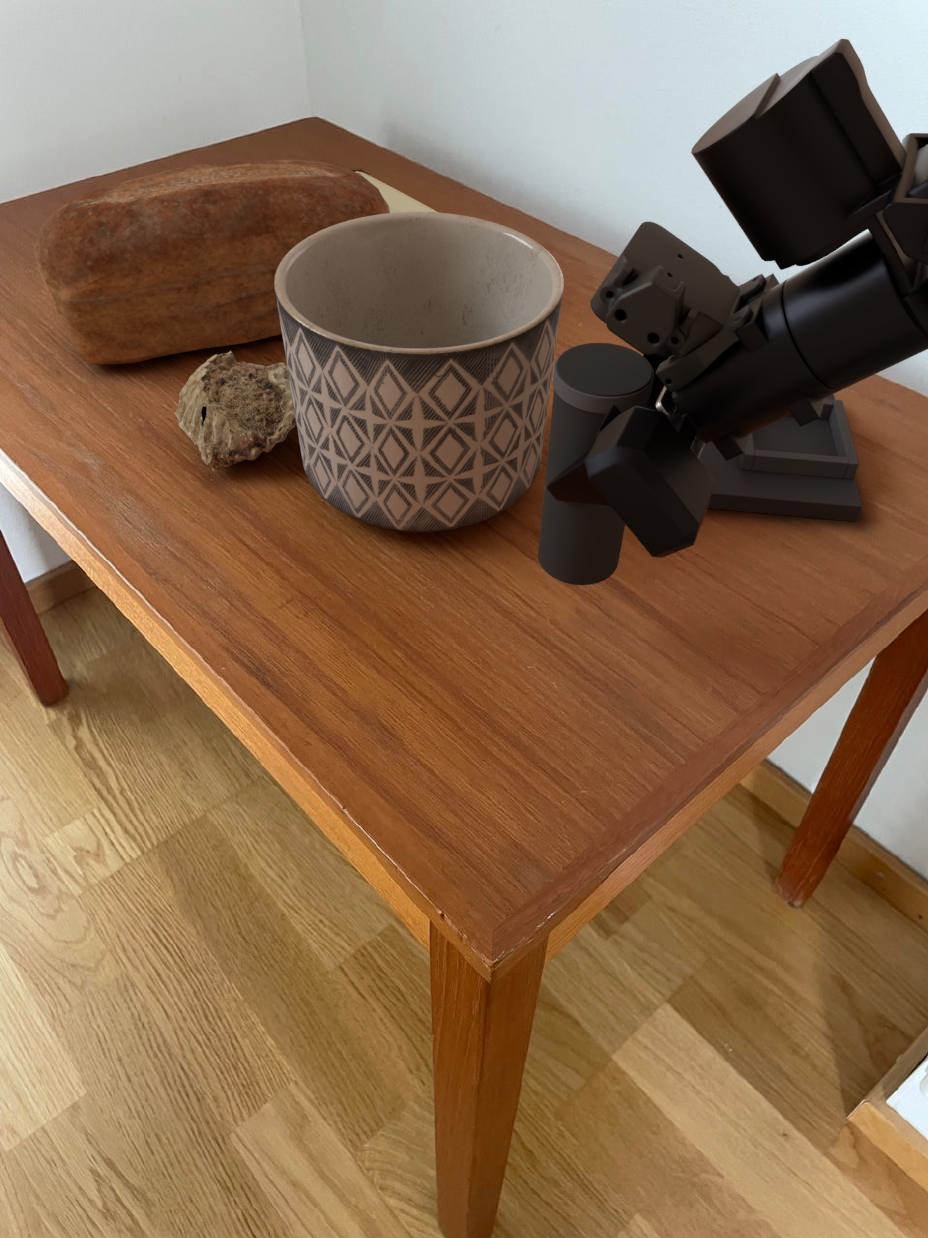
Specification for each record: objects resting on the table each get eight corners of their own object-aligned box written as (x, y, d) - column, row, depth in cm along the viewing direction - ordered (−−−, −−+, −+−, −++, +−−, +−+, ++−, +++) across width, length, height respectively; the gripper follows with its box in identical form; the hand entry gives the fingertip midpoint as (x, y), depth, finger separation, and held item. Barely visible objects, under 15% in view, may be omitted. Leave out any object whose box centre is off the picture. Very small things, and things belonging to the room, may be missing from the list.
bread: (408, 322, 92) (405, 178, 82) (73, 386, 83) (24, 234, 74) (368, 265, 99) (361, 126, 89) (57, 318, 91) (11, 172, 81)
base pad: (828, 408, 83) (839, 378, 81) (856, 522, 73) (869, 491, 71) (654, 393, 84) (660, 363, 82) (657, 504, 74) (664, 473, 72)
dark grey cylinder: (629, 542, 61) (665, 353, 51) (605, 596, 58) (639, 405, 48) (552, 521, 62) (572, 332, 53) (524, 572, 59) (540, 381, 49)
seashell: (199, 505, 77) (305, 473, 74) (142, 443, 72) (253, 406, 69) (229, 413, 84) (327, 379, 81) (179, 350, 79) (282, 311, 76)
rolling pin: (543, 310, 94) (547, 261, 90) (499, 328, 91) (502, 279, 88) (356, 195, 111) (353, 150, 107) (314, 208, 108) (310, 162, 105)
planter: (285, 416, 81) (259, 223, 69) (505, 388, 84) (517, 200, 72) (319, 571, 68) (294, 368, 56) (576, 531, 72) (604, 332, 60)
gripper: (760, 116, 48) (535, 280, 59) (665, 283, 36) (406, 451, 47) (872, 295, 52) (641, 419, 63) (819, 501, 40) (546, 609, 51)
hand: (567, 465), depth 56 cm, fingers closed on dark grey cylinder, 5 cm apart
